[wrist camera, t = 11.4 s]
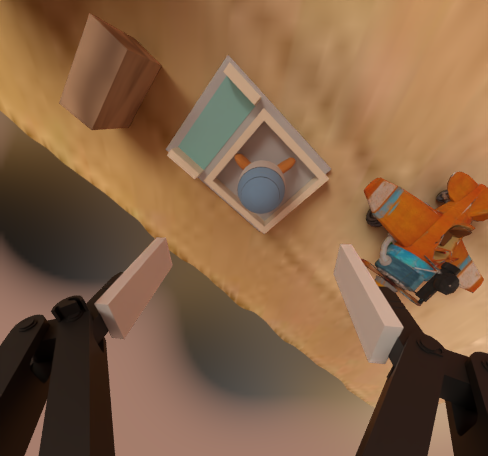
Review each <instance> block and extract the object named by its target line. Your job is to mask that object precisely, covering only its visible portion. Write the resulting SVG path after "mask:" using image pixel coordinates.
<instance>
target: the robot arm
mask: <svg viewBox="0 0 488 456" xmlns="http://www.w3.org/2000/svg"><path fill="white" fill-rule="evenodd" d="M171 267H172V261H171V257H170V253H169V249H168V244H167V240H166V238H160V237H157V238H156V239H155V240H154V241H153V242H152V243H151V244H150V245H149V246H148V247H147V248H146V249H145V250H144V251H143V253H142V254H141V255H140V256H139V257H138V258H137V259H136V260H135V261H134V262H133V263H132V264H131V265H130V266H129V267H128V268H127V269H126V271H125V272H120V273H118V274H117V275H115V276H114V277H112V278H111V279H110V280H109V281H108V282H107V284H105V285H104V286H103V287H102V289H100V290H99V291H98V292H97V293H96V294H95V295H94V296H93V297H92V298H91V299H90V300H89V302H87V304H86V303H85V301H84V299H83V298H82V297H81V296H72V297H68V298H66V299H63V300H62V301H60V302H59V303H57V304H56V305H55V306H54V307H53V309H52V311H51V312H52V314H53V315H54V316H55V318H56V319H53V320H48V321H47V320H46V319H45V317H44V316H43V315H34V316H31V317H28V318H26V319H24V320H22V321H21V322H19V323H18V324H17V325H15V327H14V328H13V329H12V330H11V331H10V333H9V334H8V335H7V337H6V338H5V340H4V341H3V343H2V344H1V346H0V456H24V455H25V453H26V450H27V448H28V445H29V443H30V440H31V438H32V435H33V433H34V430H35V428H36V425H37V423H38V420H39V418H40V415H41V413H42V410H43V408H44V405H45V403H46V400H47V404H46V410H45V417H44V424H43V431H42V438H41V444H40V451H39V456H115V450H114V436H113V423H112V411H111V398H110V387H109V374H108V361H107V348H106V340H105V338H104V336H105V335H106V334H107V332H108V331H109V333H110V335H111V337H112V338H120V339H124V338H125V337H126V336H127V334H128V333H129V331H130V330H131V328H132V327H133V325H134V323H135V322H136V320H137V319H138V317H139V316H140V314H141V313H142V311H143V310H144V308H145V307H146V305H147V304H148V302H149V301H150V299H151V298H152V296H153V295H154V293H155V292H156V290H157V288H158V287H159V285H160V284H161V282H162V281H163V279H164V278H165V276H166V275H167V273H168V272H169V270H170V269H171ZM334 276H335V279H336V281H337V284H338V286H339V289H340V291H341V294H342V297H343V299H344V302H345V304H346V307H347V309H348V312H349V314H350V317H351V319H352V322H353V324H354V327H355V329H356V332H357V334H358V337H359V339H360V342H361V344H362V347H363V349H364V352H365V354H366V357H367V360H368V362H369V363H380V364H385V363H386V361H387V359H388V357H389V358H390V360H391V362H392V364H393V367H392V368H391V370H390V372H389V374H388V376H387V380H386V383H385V385H384V388H383V390H382V392H381V395H380V397H379V400H378V402H377V405H376V407H375V409H374V412H373V414H372V417H371V419H370V422H369V424H368V426H367V429H366V431H365V434H364V436H363V439H362V441H361V444H360V446H359V448H358V451H357V453H356V456H427V455H428V450H429V445H430V441H431V436H432V431H433V426H434V421H435V416H436V411H437V406H438V402H439V398H442V399H444V400H445V403H446V409H447V415H448V421H449V428H450V434H451V440H452V446H453V452H454V456H488V354H487V353H483V352H474V353H473V354H472V355H471V356H470V357H467V356H464V355H461V354H458V353H455V352H452V351H449V350H446V349H444V347H443V346H442V345H441V344H440V343H439V342H438V341H437V340H435V339H434V338H432V337H431V336H428V335H426V334H424V333H423V332H422V330H421V329H420V327H419V326H418V324H417V323H416V322H415V320H414V319H413V317H412V316H411V315H410V313H409V312H408V310H407V309H406V307H405V306H404V305H403V303H401V300H400V299H399V297H398V296H397V295H396V293H394V292H393V291H392V290H391V289H389V288H388V287H383V286H377V284H376V282H375V281H374V279H373V278H372V276H371V275H370V273H369V271H368V270H367V268H366V267H365V265H364V263H363V262H362V260H361V259H360V257H359V255H358V254H357V252H356V251H355V249H354V247H353V246H352V244H340V247H339V252H338V256H337V261H336V265H335V269H334Z"/></svg>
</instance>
